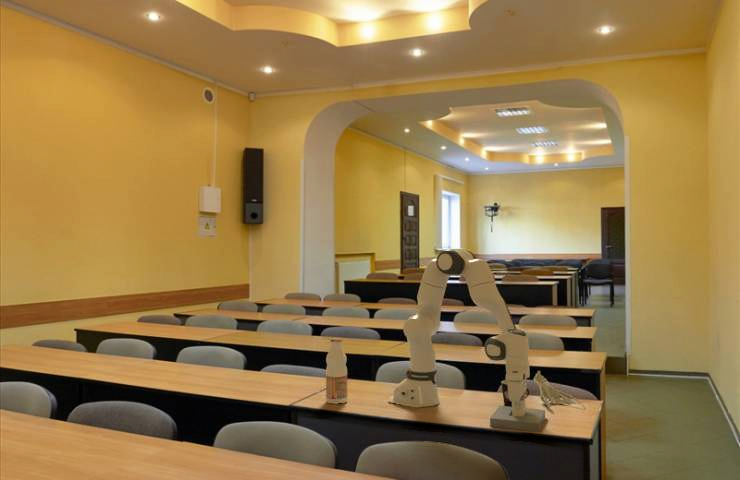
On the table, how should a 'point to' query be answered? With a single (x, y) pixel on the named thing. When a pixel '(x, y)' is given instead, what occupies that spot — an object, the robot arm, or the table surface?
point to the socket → (517, 419)
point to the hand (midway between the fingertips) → (518, 407)
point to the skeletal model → (547, 389)
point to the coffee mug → (505, 394)
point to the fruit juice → (336, 373)
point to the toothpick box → (522, 410)
